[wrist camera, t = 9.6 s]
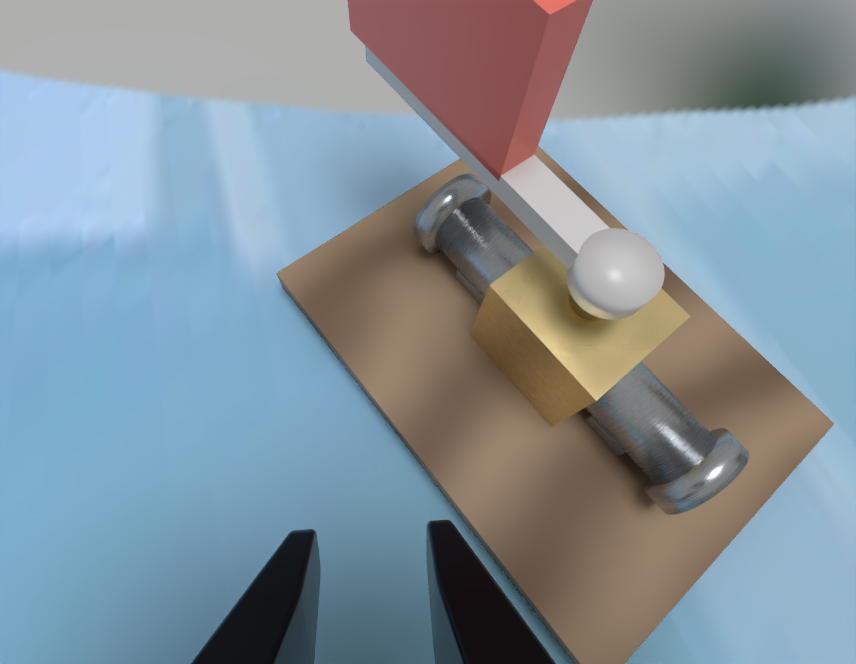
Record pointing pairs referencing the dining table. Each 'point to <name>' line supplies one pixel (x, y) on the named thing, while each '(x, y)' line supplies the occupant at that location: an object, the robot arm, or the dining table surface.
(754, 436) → the mounting board
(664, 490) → the ball valve
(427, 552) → the robot arm
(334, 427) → the dining table surface
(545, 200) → the valve lever
